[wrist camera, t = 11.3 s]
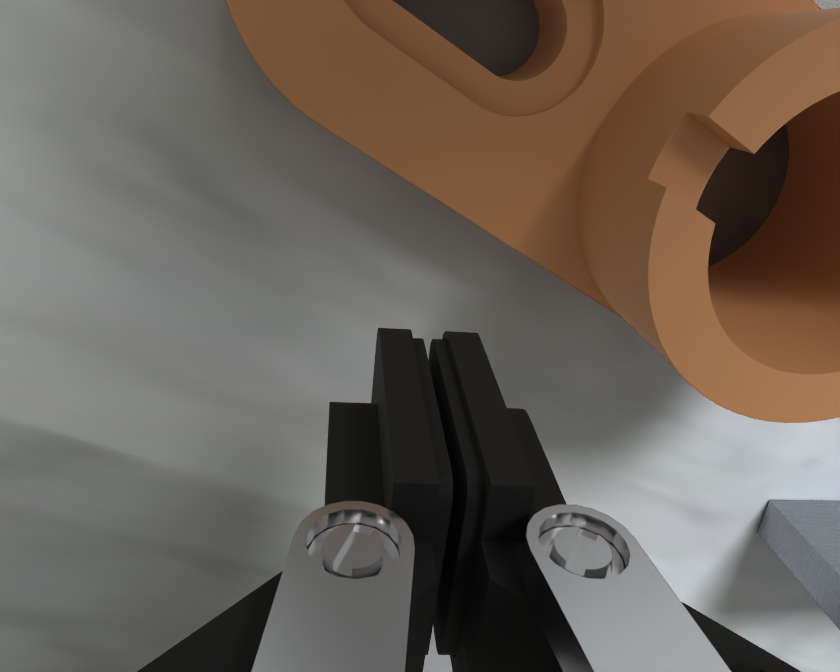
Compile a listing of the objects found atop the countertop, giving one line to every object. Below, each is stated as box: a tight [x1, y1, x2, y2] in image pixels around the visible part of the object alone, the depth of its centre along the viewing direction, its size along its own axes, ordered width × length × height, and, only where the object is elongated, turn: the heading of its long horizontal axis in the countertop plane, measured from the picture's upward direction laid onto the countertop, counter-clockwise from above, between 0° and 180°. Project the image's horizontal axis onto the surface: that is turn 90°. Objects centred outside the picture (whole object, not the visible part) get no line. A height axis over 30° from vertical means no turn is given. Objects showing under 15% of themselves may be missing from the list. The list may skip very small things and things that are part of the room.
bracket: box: [226, 0, 840, 423], centre depth 15 cm, size 18×8×7 cm, turn 57°
